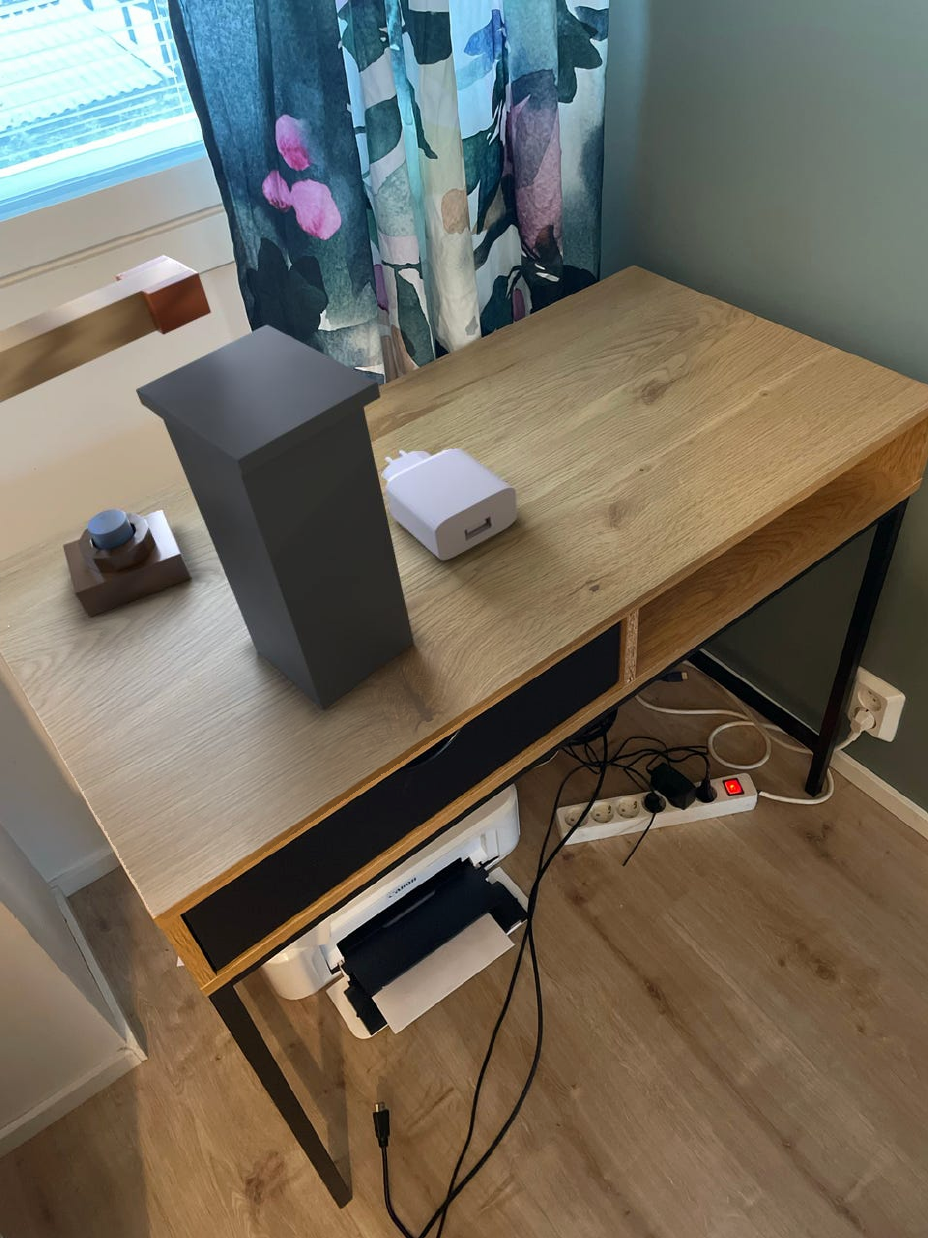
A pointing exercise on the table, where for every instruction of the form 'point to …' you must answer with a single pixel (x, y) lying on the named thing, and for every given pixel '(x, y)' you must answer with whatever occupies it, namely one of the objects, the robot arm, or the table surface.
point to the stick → (99, 323)
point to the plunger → (110, 529)
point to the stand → (291, 504)
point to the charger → (448, 500)
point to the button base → (126, 565)
